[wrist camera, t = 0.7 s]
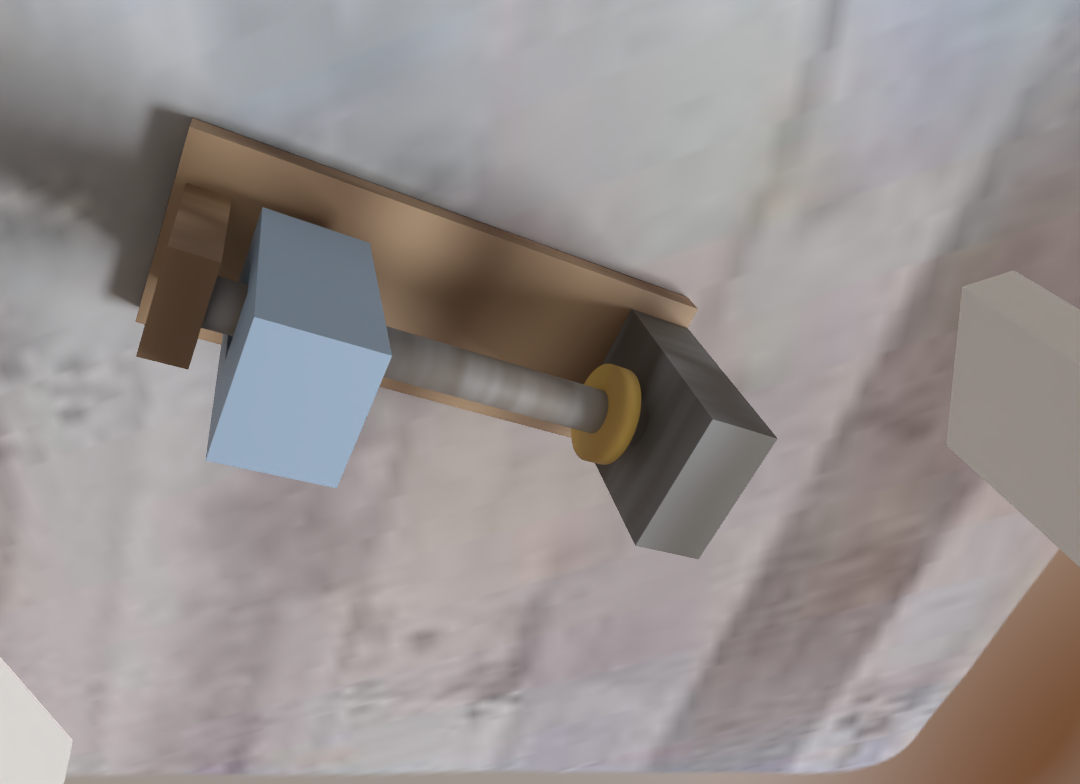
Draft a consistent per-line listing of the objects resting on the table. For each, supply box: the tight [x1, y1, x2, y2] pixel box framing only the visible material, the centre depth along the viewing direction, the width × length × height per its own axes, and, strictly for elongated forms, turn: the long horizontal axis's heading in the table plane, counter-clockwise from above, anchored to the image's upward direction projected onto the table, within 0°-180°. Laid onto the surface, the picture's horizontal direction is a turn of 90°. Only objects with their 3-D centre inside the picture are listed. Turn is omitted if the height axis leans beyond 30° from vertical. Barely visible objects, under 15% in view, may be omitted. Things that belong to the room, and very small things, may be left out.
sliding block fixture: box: [136, 118, 777, 559], centre depth 33 cm, size 22×8×10 cm, turn 65°
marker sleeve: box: [206, 207, 392, 488], centre depth 30 cm, size 4×5×9 cm
